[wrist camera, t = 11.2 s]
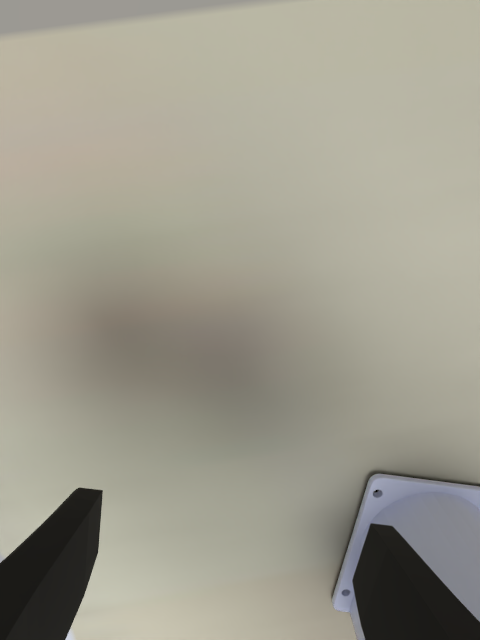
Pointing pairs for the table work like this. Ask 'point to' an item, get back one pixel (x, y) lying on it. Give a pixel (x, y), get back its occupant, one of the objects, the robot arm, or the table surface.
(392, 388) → the table surface
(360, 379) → the table surface
